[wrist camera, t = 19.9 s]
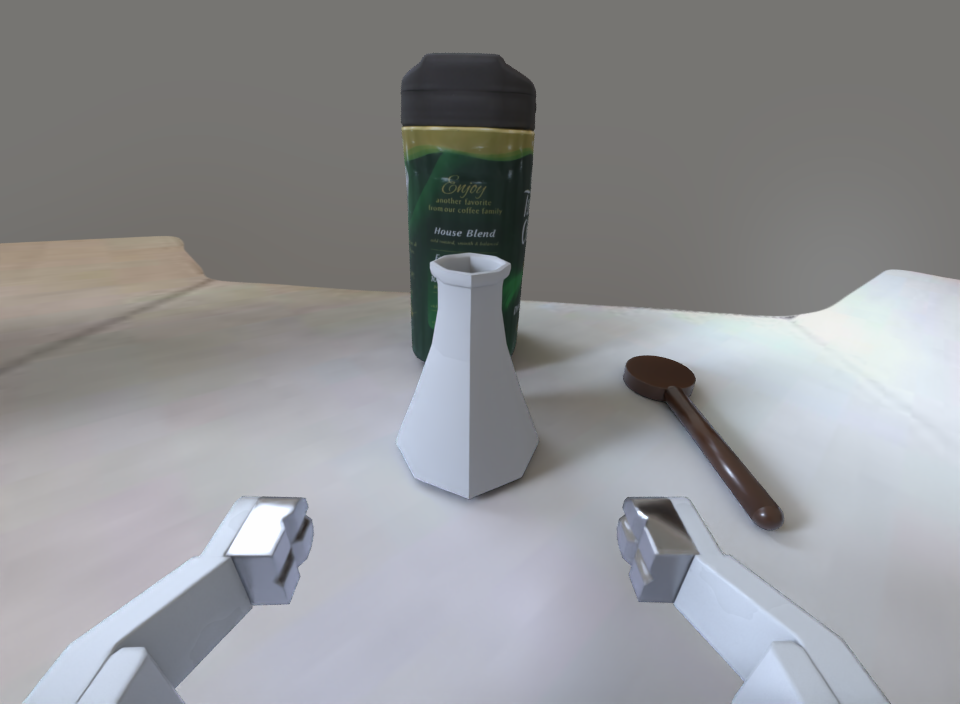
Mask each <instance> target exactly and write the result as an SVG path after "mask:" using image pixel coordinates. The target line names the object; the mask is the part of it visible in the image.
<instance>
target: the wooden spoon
mask: <svg viewBox="0 0 960 704" xmlns="http://www.w3.org/2000/svg"><path fill="white" fill-rule="evenodd" d="M623 379H624V382H625V383H626V385H627V386H628V387H629V388H630V389H632V390H633V391H634V392H636V393H638V394H640V395H642V396H644V397H647V398H650V399H654V400H658V401H664V402H667V404H668V405H669V407H670V408H671V409H672V411H673V412H674V413H675V415H676V416H677V417H678V419H679V420H680V422H681V423H682V424H683V426H684V427H685V428H686V430H687V431H688V433H689V434H690V435H691V437H692V438H693V439H694V441H695V442H696V444H697V445H698V446H699V448H700V449H701V450H702V452H703V453H704V454H705V456H706V457H707V459H708V460H709V461H710V463H711V464H712V465H713V467H714V468H715V470H716V471H717V472H718V474H719V475H720V476H721V478H722V479H723V481H724V482H725V483H726V485H727V486H728V487H729V489H730V490H731V491H732V493H733V494H734V496H735V497H736V498H737V500H738V501H739V502H740V504H741V505H742V507H743V508H744V509H745V511H746V512H747V513H748V515H749V516H750V518H751V519H752V520H753V522H754V523H755V524H756V525H758V526H759V527H761V528H763V529H766V530H776V529H778V528H780V527H781V526H782V524H783V522H784V515H783V512H782V510H781V509H780V508H779V506H778V505H777V504H776V503H775V502H774V500H773V499H772V498H771V497H770V495H769V494H768V493H767V492H766V491H765V489H764V488H763V487H762V486H761V485H760V483H759V482H758V481H757V480H756V479H755V477H754V476H753V475H752V474H751V473H750V471H749V470H748V469H747V468H746V466H745V465H744V464H743V463H742V462H741V460H740V459H739V458H738V457H737V456H736V454H735V453H734V452H733V451H732V450H731V448H730V447H729V446H728V445H727V444H726V442H725V441H724V440H723V439H722V437H721V436H720V435H719V434H718V433H717V431H716V430H715V429H714V428H713V427H712V425H711V424H710V423H709V422H708V421H707V419H706V418H705V417H704V416H703V415H702V413H701V412H700V411H699V410H698V408H697V407H696V406H695V405H694V404H693V402H692V401H691V400H690V399H689V398H688V397H689V396H690V395H691V393H692V390H693V387H694V384H695V381H696V378H695V375H694V374H693V372H692V371H691V370H690V369H688V368H687V367H686V366H684V365H682V364H680V363H678V362H676V361H673V360H670V359H667V358H663V357H658V356H648V355H646V356H637V357H633V358H631V359H629V360H628V361H627V363H626V367H625V371H624V375H623Z"/></svg>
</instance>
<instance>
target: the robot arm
mask: <svg viewBox="0 0 960 704" xmlns="http://www.w3.org/2000/svg"><path fill="white" fill-rule="evenodd" d="M622 508H623V510H624V513H625V515H624V516H623V517H621V518H620V519H619V522H618V526H617V540H618V545H619V549H620V552H621V555H622V558H623V559H624V560H625V561H627V562H628V563H629V564H630V565H631V569H630V572H629V577H630V580H631V583H632V585H633V588H634V591H635V594H636V596H637V599H638V602H662V603H674V604H673V605H674V606H675V607H676V608H677V609H678V610H679V611H680V612H681V614H682V615H683V616H684V617H685V618H686V619H687V620H688V621H689V622H690V623H691V624H692V625H693V627H694V628H695V629H696V630H697V631H698V632H699V633H700V634H701V635H702V636H703V637H704V638H705V640H706V641H707V642H708V643H709V644H710V645H711V646H712V647H713V648H714V649H715V650H716V652H717V653H718V654H719V655H720V656H721V657H722V658H723V659H724V660H725V661H726V662H727V663H728V665H729V666H730V667H731V668H732V669H733V670H734V671H735V672H736V673H737V674H738V675H739V676H740V678H741V679H742V680H743V681H744V683H743V685H742V686H741V688H740V689H739V691H738V692H737V693H736V695H735V696H734V698H733V700H732V703H731V704H891V703H890V702H889V701H888V699H887V698H886V697H885V695H884V694H883V693H882V691H881V690H880V688H879V687H878V686H877V684H876V683H875V682H874V680H873V679H872V678H871V676H870V675H869V674H868V672H867V671H866V670H865V668H864V667H863V665H862V664H861V663H860V661H859V660H858V659H857V657H856V656H855V655H854V653H853V652H852V651H851V649H850V648H849V647H848V645H847V644H846V642H845V641H844V640H843V639H842V638H841V637H839V636H838V635H837V634H835V633H834V632H833V631H831V630H830V629H829V628H827V627H826V626H825V625H823V624H822V623H821V622H819V621H818V620H817V619H815V618H814V617H813V616H811V615H810V614H809V613H807V612H806V611H805V610H803V609H802V608H801V607H799V606H798V605H796V604H795V603H794V602H792V601H791V600H790V599H788V598H787V597H786V596H784V595H783V594H782V593H780V592H779V591H778V590H776V589H775V588H774V587H772V586H771V585H770V584H768V583H767V582H766V581H764V580H763V579H762V578H760V577H759V576H758V575H756V574H755V573H753V572H752V571H751V570H749V569H748V568H747V567H745V566H744V565H743V564H741V563H740V562H739V561H737V560H736V559H735V558H733V557H732V556H731V555H724V554H723V553H722V551H721V549H720V548H719V546H718V545H717V543H716V541H715V540H714V538H713V536H712V535H711V533H710V532H709V530H708V528H707V527H706V525H705V523H704V522H703V520H702V518H701V517H700V515H699V514H698V512H697V510H696V509H695V507H694V505H693V504H692V502H691V501H690V500H689V499H688V498H687V497H627V498H626V499H625V500H624V504H623V507H622ZM307 510H308V504H307V501H306V498H301V497H265V496H263V497H256V496H242V497H241V498H239V499H238V500H237V501H236V502H235V503H234V505H233V506H232V508H231V509H230V511H229V513H228V514H227V516H226V517H225V519H224V520H223V522H222V523H221V525H220V526H219V528H218V529H217V531H216V532H215V534H214V536H213V537H212V539H211V540H210V542H209V543H208V545H207V546H206V548H205V549H204V551H203V552H202V554H201V556H198V557H192V558H191V559H189V560H188V561H187V562H185V563H184V564H182V565H181V566H179V567H178V568H177V569H175V570H174V571H172V572H171V573H170V574H168V575H167V576H165V577H164V578H163V579H161V580H160V581H158V582H157V583H156V584H154V585H153V586H151V587H150V588H148V589H147V590H146V591H144V592H143V593H141V594H140V595H139V596H137V597H136V598H134V599H133V600H132V601H130V602H129V603H127V604H126V605H124V606H123V607H122V608H120V609H119V610H117V611H116V612H115V613H113V614H112V615H110V616H109V617H108V618H106V619H105V620H103V621H102V622H101V623H99V624H98V625H96V626H95V627H93V628H92V629H91V630H89V631H88V632H86V633H85V634H84V635H82V636H81V637H79V638H78V639H77V640H75V641H74V642H72V643H71V644H70V645H68V646H67V648H66V649H65V650H64V651H63V653H62V654H61V655H60V656H59V658H58V659H57V660H56V661H55V663H54V664H53V665H52V666H51V668H50V669H49V670H48V671H47V673H46V674H45V675H44V677H43V678H42V679H41V680H40V682H39V683H38V684H37V685H36V687H35V688H34V689H33V690H32V692H31V693H30V694H29V695H28V697H27V698H26V699H25V700H24V702H23V703H22V704H185V702H184V701H183V699H182V698H181V697H180V695H179V694H178V693H177V691H176V690H175V688H176V687H177V686H178V685H179V684H180V683H181V682H182V681H183V680H184V679H185V678H186V677H187V675H188V674H189V673H190V672H191V671H192V670H193V669H194V668H195V667H196V666H197V665H198V664H199V663H200V662H201V661H202V660H203V659H204V658H205V657H206V656H207V655H208V654H209V653H210V652H211V651H212V649H213V648H214V647H215V646H216V645H217V644H218V643H219V642H220V641H221V640H222V639H223V638H224V637H225V636H226V635H227V634H228V633H229V632H230V631H231V630H232V629H233V628H234V627H235V626H236V625H237V624H238V622H239V621H240V620H241V619H242V618H243V617H244V616H245V615H246V614H247V613H248V612H249V611H250V610H251V609H252V606H253V605H281V604H290V602H291V599H292V597H293V594H294V591H295V589H296V586H297V584H298V581H299V579H300V573H299V570H298V567H299V566H300V565H301V564H302V563H303V562H304V561H305V560H307V558H308V555H309V553H310V550H311V547H312V541H313V536H314V530H313V523H312V519H311V518H309V517H308V516H307V515H306V512H307Z"/></svg>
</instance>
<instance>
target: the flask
mask: <svg viewBox="0 0 960 704" xmlns="http://www.w3.org/2000/svg"><path fill="white" fill-rule="evenodd" d="M430 270H431V273H432V275H433V276H434V277H436V278H437V283H438V311H437V317H436V323H435V329H434V335H433V341H432V345H431V348H430V351H429V354H428V357H427V359H426V362H425V365H424V368H423V371H422V374H421V377H420V379H419V382H418V385H417V388H416V391H415V393H414V396H413V398H412V401H411V403H410V406H409V408H408V411H407V413H406V416H405V418H404V421H403V423H402V425H401V428H400V431H399V434H398V436H397V439H396V444H397V446H398V448H399V450H400V451H401V453H402V455H403V457H404V459H405V461H406V463H407V465H408V467H409V468H410V470H411V472H412V474H413V476H414V478H415V479H418V480H421V481H423V482H426V483H428V484H431V485H433V486H436V487H439V488H441V489H444V490H446V491H449V492H452V493H454V494H457V495H459V496H462V497H464V498H467V499H471V498H473V497H475V496H478V495H480V494H483V493H485V492H487V491H490V490H492V489H495V488H497V487H499V486H502V485H504V484H507V483H509V482H512V481H514V480H516V479H519V478H521V477H522V476H523V474H524V472H525V470H526V468H527V465H528V463H529V461H530V459H531V457H532V455H533V453H534V451H535V449H536V447H537V445H538V443H539V439H538V436H537V433H536V430H535V427H534V424H533V421H532V418H531V416H530V413H529V410H528V408H527V405H526V402H525V399H524V397H523V394H522V391H521V388H520V385H519V382H518V379H517V376H516V373H515V369H514V366H513V363H512V360H511V357H510V354H509V351H508V347H507V344H506V337H505V330H504V323H503V315H502V286H503V280H504V279H505V278H506V277H508V275H509V273H510V270H511V263H509V262H506V261H504V260H502V259H500V258H498V257H496V256H490V255H483V254H476V253H462V254H453V255H445V256H442V257H440V258H438V259H436V260H434V261H432V262H430Z"/></svg>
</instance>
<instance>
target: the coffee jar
mask: <svg viewBox="0 0 960 704" xmlns="http://www.w3.org/2000/svg"><path fill="white" fill-rule="evenodd" d="M535 113H536V90H535V87H534V84H533V83H532V82H531V81H530V80H529V79H528V78H527V77H526V76H524V75H523V74H521V73H520V72H518V71H517V70H515V69H514V68H512V67H511V66H509V65H508V64H506V63H505V61H504V59H503V58H502V57H501V56H500V55H496V54H482V53H432V54H426V55H425V56H424V57H423V58H422V60H421V62H419V64H417V65H416V66H414V67H413V68H412V69H411V70H409V71H408V72H407V74H406V75H405V76H404V77H403V80H402V85H401V123H402V125H403V127H402V138H403V148H404V159H405V168H406V169H405V170H406V183H407V199H408V222H409V223H408V224H409V252H410V279H411V326H412V348H413V352H414V354H415V355H416V356H417V358H419V359H420V360H422V361H424V362H426V359H427V357H428V354H429V351H430V348H431V345H432V341H433V335H434V329H435V323H436V317H437V311H438V283H437V278H436V277H434V276H433V275H432V273H431V270H430V262H432V261H434V260H436V259H438V258H440V257H442V256H445V255H453V254H462V253H476V254H483V255H490V256H496V257H498V258H500V259H502V260H504V261H506V262H509V263H511V270H510V273H509V275H508V277H506V278H505V279H504V280H503V286H502V315H503V323H504V330H505V337H506V344H507V347H508V351H509V354H510V357H511V355H512V353H513V351H514V348H515V344H516V337H517V328H518V319H519V309H520V297H521V284H522V275H523V266H524V257H525V247H526V237H527V227H528V216H529V203H530V191H531V177H532V165H533V146H534V135H535V134H534V132H533V131H534V129H535Z"/></svg>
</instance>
